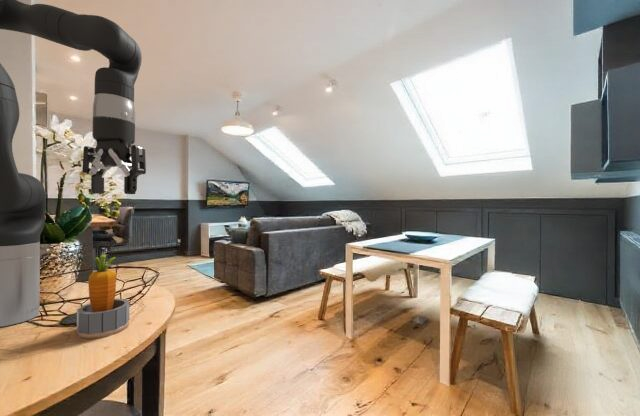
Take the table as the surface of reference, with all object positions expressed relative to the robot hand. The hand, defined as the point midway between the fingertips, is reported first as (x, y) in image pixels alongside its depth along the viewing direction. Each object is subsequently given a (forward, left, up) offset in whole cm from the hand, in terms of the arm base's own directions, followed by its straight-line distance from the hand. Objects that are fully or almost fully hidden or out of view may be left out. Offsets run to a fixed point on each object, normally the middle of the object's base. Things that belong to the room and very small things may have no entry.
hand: (113, 193), depth 61 cm
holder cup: (-1, -2, -29) cm, 29 cm away
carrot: (-1, -2, -28) cm, 28 cm away
